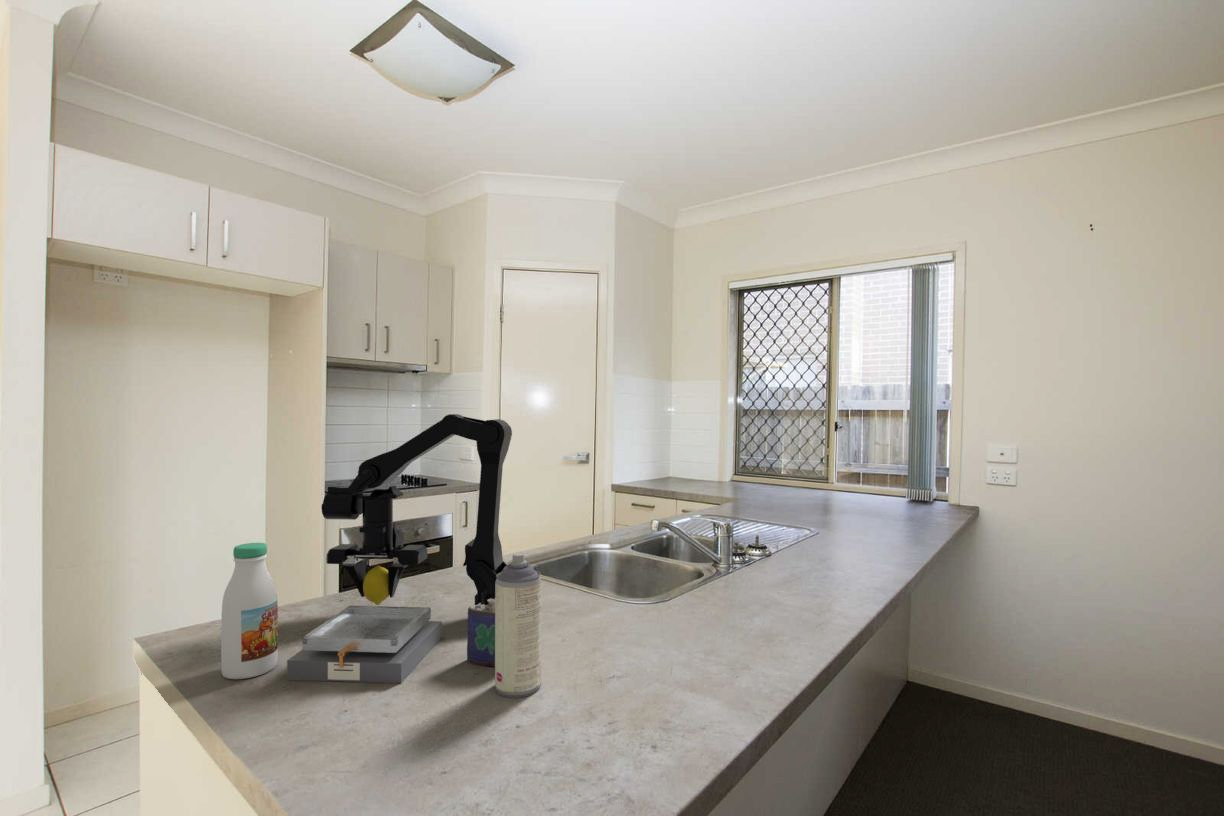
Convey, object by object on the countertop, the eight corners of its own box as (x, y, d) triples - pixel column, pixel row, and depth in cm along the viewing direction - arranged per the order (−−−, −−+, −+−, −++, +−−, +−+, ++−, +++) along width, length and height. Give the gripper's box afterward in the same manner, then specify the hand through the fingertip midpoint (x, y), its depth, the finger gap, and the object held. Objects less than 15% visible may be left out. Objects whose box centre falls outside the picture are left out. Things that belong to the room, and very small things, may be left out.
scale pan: (430, 626, 107) (430, 607, 107) (389, 669, 90) (389, 646, 90) (349, 624, 108) (349, 605, 108) (293, 666, 91) (293, 643, 91)
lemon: (397, 600, 123) (397, 562, 123) (384, 609, 118) (384, 569, 118) (371, 600, 124) (371, 561, 124) (357, 609, 118) (357, 568, 118)
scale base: (441, 637, 109) (441, 621, 109) (400, 683, 91) (400, 664, 91) (345, 635, 110) (345, 619, 110) (286, 680, 92) (286, 660, 92)
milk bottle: (218, 685, 90) (218, 553, 90) (224, 665, 97) (224, 542, 97) (276, 674, 94) (277, 547, 94) (278, 656, 100) (278, 537, 100)
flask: (521, 663, 98) (521, 598, 98) (514, 670, 95) (514, 603, 95) (471, 656, 101) (471, 593, 101) (462, 663, 98) (462, 598, 98)
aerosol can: (523, 672, 95) (524, 546, 95) (549, 687, 90) (550, 554, 90) (486, 686, 90) (486, 554, 90) (511, 702, 85) (512, 562, 85)
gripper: (436, 513, 128) (436, 585, 128) (352, 512, 129) (352, 584, 129) (417, 523, 117) (417, 602, 117) (324, 522, 118) (324, 600, 118)
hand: (377, 596), depth 121 cm, fingers closed on lemon, 5 cm apart
